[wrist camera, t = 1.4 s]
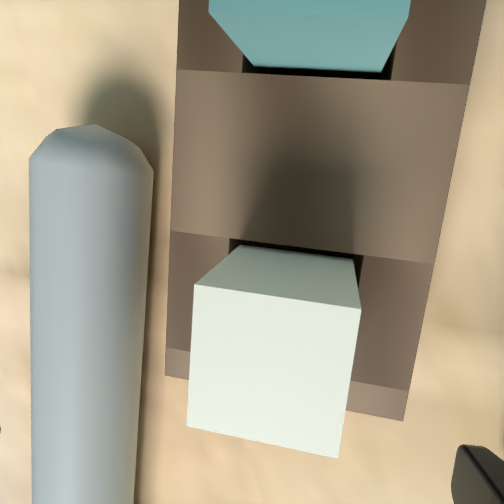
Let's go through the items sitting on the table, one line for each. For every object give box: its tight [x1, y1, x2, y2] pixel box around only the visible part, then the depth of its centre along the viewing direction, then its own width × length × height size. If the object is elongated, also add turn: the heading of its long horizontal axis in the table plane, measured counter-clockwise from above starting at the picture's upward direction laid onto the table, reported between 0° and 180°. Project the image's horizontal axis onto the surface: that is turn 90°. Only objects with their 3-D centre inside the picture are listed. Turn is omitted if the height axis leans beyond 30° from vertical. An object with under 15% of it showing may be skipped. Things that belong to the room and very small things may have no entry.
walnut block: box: [165, 0, 486, 421], centre depth 15 cm, size 9×17×5 cm, turn 174°
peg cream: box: [187, 245, 361, 459], centre depth 12 cm, size 4×4×5 cm
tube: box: [29, 124, 154, 504], centre depth 20 cm, size 5×5×25 cm
